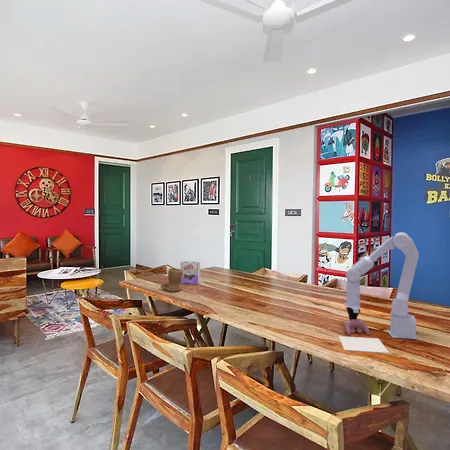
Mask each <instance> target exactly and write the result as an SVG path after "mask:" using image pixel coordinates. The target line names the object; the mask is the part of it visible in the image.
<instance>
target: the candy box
mask: <svg viewBox="0 0 450 450" xmlns="http://www.w3.org/2000/svg"><path fill="white" fill-rule="evenodd" d="M180 269H181V270H182V271H183V275H182V278H181V281H180V284H183V283H190V284H189V285H199V284H201V261H198V260H197V261H194V260H182V261H180Z"/></svg>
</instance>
